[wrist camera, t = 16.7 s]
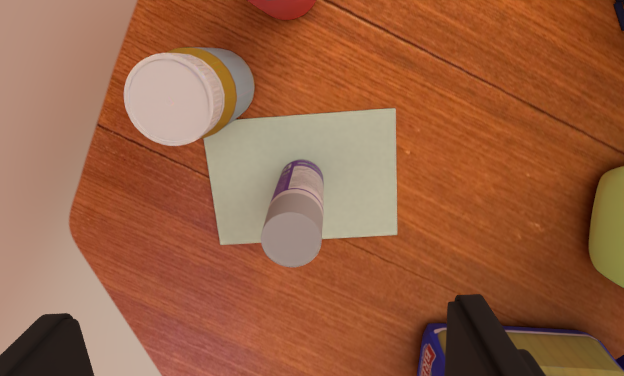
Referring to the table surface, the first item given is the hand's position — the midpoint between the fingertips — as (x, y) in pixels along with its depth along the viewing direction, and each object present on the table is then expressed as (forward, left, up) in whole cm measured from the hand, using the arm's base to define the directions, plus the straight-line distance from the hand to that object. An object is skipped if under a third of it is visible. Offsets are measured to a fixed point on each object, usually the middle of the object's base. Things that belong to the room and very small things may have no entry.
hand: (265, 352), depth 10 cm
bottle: (-9, +5, -35) cm, 36 cm away
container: (-1, -6, -34) cm, 35 cm away
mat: (-1, -6, -34) cm, 35 cm away
